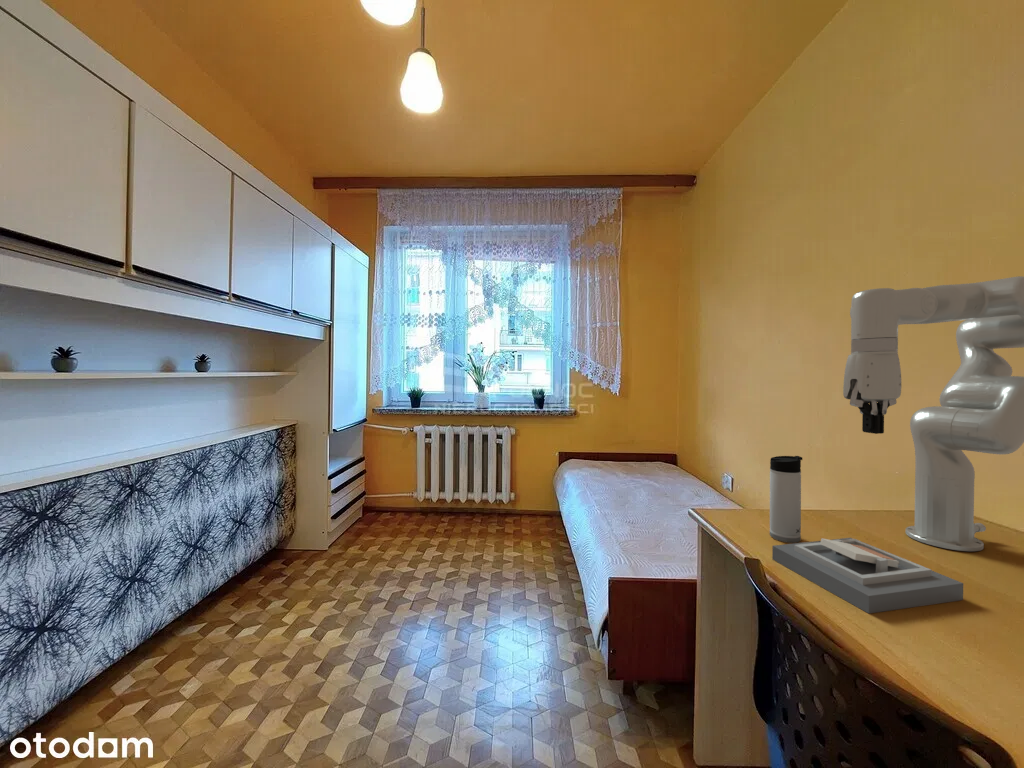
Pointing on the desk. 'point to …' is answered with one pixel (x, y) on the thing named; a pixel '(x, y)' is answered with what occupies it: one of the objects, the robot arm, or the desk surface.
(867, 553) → the rocker switch
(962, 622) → the desk surface
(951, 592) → the switch plate
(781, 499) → the travel mug
